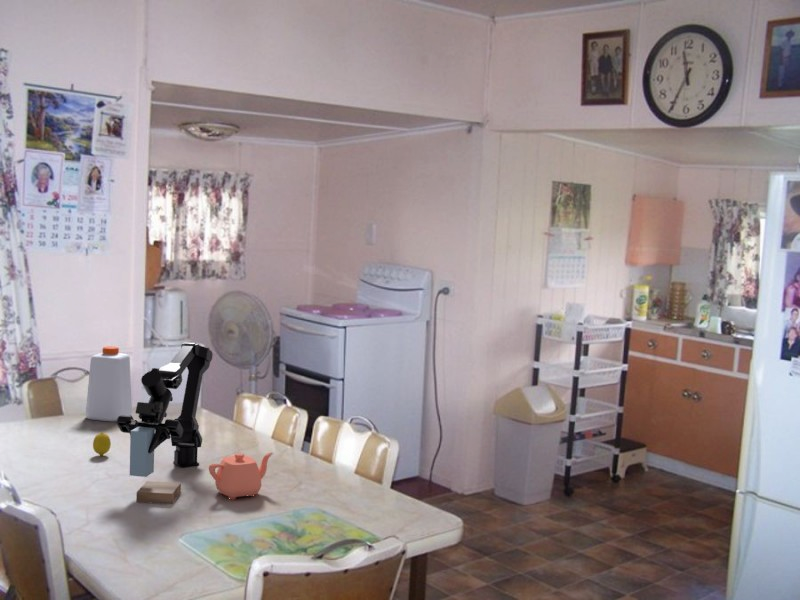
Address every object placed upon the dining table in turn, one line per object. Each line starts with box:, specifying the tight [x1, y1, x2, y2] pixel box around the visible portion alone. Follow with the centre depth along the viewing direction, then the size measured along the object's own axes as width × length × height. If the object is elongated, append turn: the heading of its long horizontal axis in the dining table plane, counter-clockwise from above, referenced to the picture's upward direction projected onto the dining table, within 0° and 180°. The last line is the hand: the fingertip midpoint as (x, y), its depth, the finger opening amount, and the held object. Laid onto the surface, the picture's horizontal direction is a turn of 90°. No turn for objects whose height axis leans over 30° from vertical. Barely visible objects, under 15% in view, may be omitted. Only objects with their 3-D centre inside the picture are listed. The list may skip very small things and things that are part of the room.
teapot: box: [208, 452, 274, 500], centre depth 244 cm, size 13×20×12 cm, turn 122°
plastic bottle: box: [85, 345, 133, 422], centre depth 327 cm, size 15×15×28 cm
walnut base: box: [135, 480, 182, 505], centre depth 238 cm, size 10×10×3 cm
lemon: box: [92, 432, 112, 457], centre depth 275 cm, size 6×6×8 cm
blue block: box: [129, 427, 155, 478], centre depth 237 cm, size 5×5×13 cm
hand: (140, 451), depth 236 cm, fingers closed on blue block, 5 cm apart
